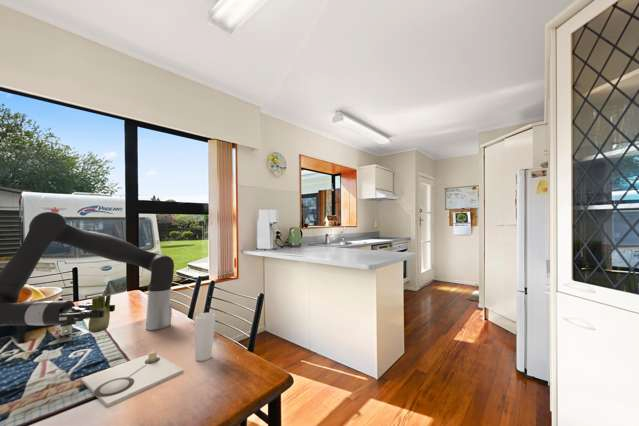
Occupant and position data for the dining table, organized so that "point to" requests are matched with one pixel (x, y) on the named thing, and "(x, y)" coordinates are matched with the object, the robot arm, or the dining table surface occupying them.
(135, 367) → the gauge board
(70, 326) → the pneumatic valve
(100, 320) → the fennel bulb
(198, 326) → the drinking glass
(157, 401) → the dining table surface
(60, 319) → the robot arm
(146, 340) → the dining table surface
